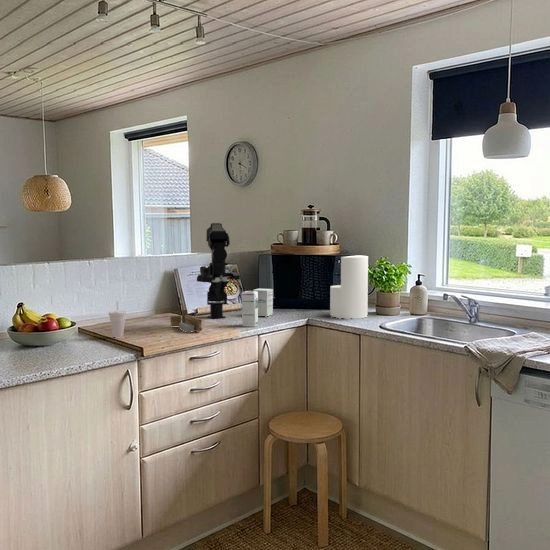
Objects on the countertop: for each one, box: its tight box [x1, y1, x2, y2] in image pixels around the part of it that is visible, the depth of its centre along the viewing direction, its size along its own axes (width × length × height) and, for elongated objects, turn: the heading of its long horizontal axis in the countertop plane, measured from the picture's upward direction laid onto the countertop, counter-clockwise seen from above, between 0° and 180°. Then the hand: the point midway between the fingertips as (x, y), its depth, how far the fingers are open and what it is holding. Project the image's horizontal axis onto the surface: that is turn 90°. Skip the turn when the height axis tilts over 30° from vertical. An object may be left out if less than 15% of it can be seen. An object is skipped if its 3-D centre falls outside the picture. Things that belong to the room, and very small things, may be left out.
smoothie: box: [108, 300, 127, 338], centre depth 212 cm, size 6×6×14 cm
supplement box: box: [252, 288, 274, 318], centre depth 264 cm, size 7×7×13 cm
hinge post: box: [170, 309, 188, 327], centre depth 234 cm, size 2×7×7 cm, turn 119°
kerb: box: [178, 321, 195, 333], centre depth 226 cm, size 9×3×3 cm, turn 29°
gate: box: [185, 314, 203, 333], centre depth 227 cm, size 2×14×5 cm, turn 30°
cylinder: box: [329, 255, 369, 319], centre depth 261 cm, size 17×17×28 cm
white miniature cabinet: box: [241, 290, 259, 328], centre depth 237 cm, size 6×6×14 cm
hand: (219, 297), depth 235 cm, fingers closed
